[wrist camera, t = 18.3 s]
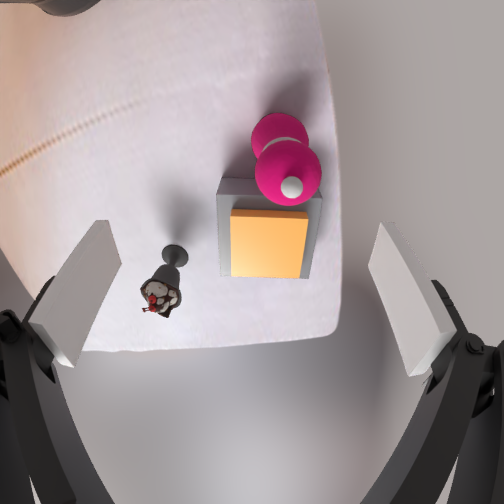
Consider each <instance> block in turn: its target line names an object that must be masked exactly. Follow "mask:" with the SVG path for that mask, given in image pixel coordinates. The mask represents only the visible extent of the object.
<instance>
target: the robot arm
mask: <svg viewBox="0 0 504 504" xmlns="http://www.w3.org/2000/svg"><path fill="white" fill-rule="evenodd" d="M99 1H100V0H0V3H33V4H35V5H36V6H38V7H39V8H41V9H42V10H43V11H44V12H46V13H47V14H50V15H53V16H63V17H67V16H73V15H77V14H79V13H82V12H84V11H86V10H88V9H89V8H91V7H92V6H94V5H95V4H97V3H98V2H99ZM121 264H122V263H121V260H120V257H119V254H118V251H117V247H116V244H115V241H114V238H113V234H112V231H111V228H110V224H109V221H108V220H97V221H95V222H94V224H93V225H92V226H91V227H90V229H89V230H88V231H87V233H86V234H85V235H84V237H83V238H82V239H81V241H80V242H79V243H78V245H77V246H76V247H75V249H74V250H73V252H72V253H71V254H70V256H69V257H68V259H67V260H66V262H65V263H64V264H63V266H62V267H61V269H60V270H59V272H58V273H57V275H56V276H53V277H52V278H50V279H49V280H48V281H47V282H46V283H45V285H44V286H43V288H42V289H41V291H40V293H39V294H38V296H37V297H36V300H35V301H34V302H33V304H32V305H31V307H30V309H29V311H28V312H27V314H26V316H25V318H24V319H23V321H22V323H21V322H20V320H19V319H18V318H17V316H16V315H15V313H14V312H13V311H12V310H4V311H2V312H0V504H35V501H34V496H33V492H32V488H31V482H30V478H31V481H32V483H33V485H34V488H35V491H36V493H37V495H38V497H39V500H40V502H41V504H115V503H114V502H113V500H112V498H111V497H110V495H109V493H108V492H107V490H106V488H105V486H104V485H103V483H102V481H101V479H100V478H99V476H98V474H97V472H96V470H95V468H94V466H93V464H92V462H91V460H90V458H89V456H88V454H87V452H86V450H85V447H84V445H83V443H82V441H81V438H80V436H79V434H78V431H77V429H76V426H75V424H74V421H73V419H72V416H71V414H70V411H69V408H68V406H67V403H66V400H65V397H64V394H63V391H62V388H61V385H60V382H59V378H58V375H57V371H56V368H55V366H54V364H53V363H52V361H53V358H54V357H55V358H56V359H57V360H58V361H59V363H60V364H62V365H66V366H70V367H75V366H76V363H77V360H78V358H79V355H80V353H81V350H82V348H83V345H84V343H85V341H86V338H87V336H88V334H89V331H90V329H91V327H92V324H93V322H94V320H95V318H96V315H97V313H98V311H99V309H100V307H101V305H102V302H103V300H104V298H105V296H106V294H107V292H108V290H109V288H110V286H111V284H112V282H113V280H114V278H115V276H116V274H117V272H118V270H119V268H120V266H121ZM368 268H369V270H370V272H371V275H372V277H373V279H374V282H375V285H376V287H377V289H378V292H379V294H380V297H381V299H382V302H383V305H384V307H385V310H386V313H387V315H388V318H389V320H390V323H391V326H392V329H393V332H394V335H395V337H396V340H397V343H398V346H399V349H400V352H401V355H402V358H403V361H404V364H405V368H406V371H407V374H408V376H413V375H419V374H424V373H425V371H426V370H427V369H428V368H429V367H430V365H431V368H432V371H433V373H432V374H431V375H430V376H429V377H428V378H427V379H426V381H425V382H424V383H423V384H422V386H421V387H424V386H425V385H426V387H425V389H424V392H423V394H422V396H421V399H420V401H419V403H418V405H417V408H416V410H415V412H414V414H413V416H412V418H411V420H410V422H409V424H408V426H407V428H406V430H405V432H404V434H403V436H402V438H401V440H400V442H399V443H398V445H397V447H396V449H395V451H394V452H393V454H392V456H391V458H390V459H389V461H388V463H387V464H386V466H385V467H384V469H383V471H382V472H381V474H380V476H379V477H378V479H377V480H376V482H375V483H374V485H373V486H372V488H371V489H370V490H369V492H368V493H367V495H366V496H365V498H364V499H363V500H362V502H361V503H360V504H435V503H436V502H437V500H438V498H439V496H440V494H441V492H442V490H443V488H444V486H445V484H446V482H447V480H448V477H449V475H450V473H451V471H452V468H453V466H454V464H455V461H456V459H457V456H458V461H457V465H456V470H455V474H454V479H453V483H452V487H451V491H450V494H449V498H448V501H447V504H504V340H503V341H502V342H501V343H500V344H499V345H498V346H497V347H493V346H486V345H484V343H483V341H482V340H481V338H479V337H478V336H477V335H475V334H472V333H468V331H467V329H466V327H465V325H464V323H463V321H462V319H461V317H460V316H459V313H458V311H457V310H456V308H455V306H454V304H453V302H452V300H451V299H450V297H449V295H448V293H447V292H446V290H445V288H444V287H443V286H442V285H441V284H440V283H439V282H438V281H437V280H430V278H429V277H428V275H427V273H426V271H425V270H424V268H423V266H422V265H421V263H420V261H419V260H418V258H417V257H416V255H415V253H414V252H413V250H412V249H411V247H410V245H409V244H408V242H407V241H406V239H405V238H404V236H403V234H402V233H401V232H400V230H399V228H398V227H397V226H396V224H395V223H394V222H381V223H380V226H379V230H378V234H377V237H376V241H375V244H374V248H373V251H372V255H371V258H370V261H369V264H368ZM493 389H494V395H493ZM458 454H459V455H458ZM29 475H30V478H29Z"/></svg>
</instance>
